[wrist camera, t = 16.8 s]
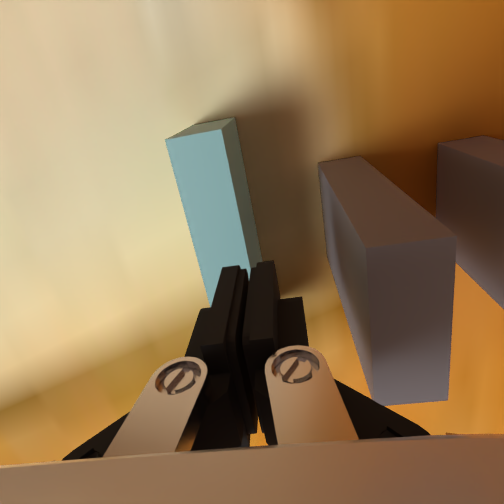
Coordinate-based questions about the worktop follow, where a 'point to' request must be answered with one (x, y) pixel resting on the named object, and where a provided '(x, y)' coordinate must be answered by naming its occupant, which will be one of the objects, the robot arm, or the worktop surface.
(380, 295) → the domino
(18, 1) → the worktop surface
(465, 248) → the domino
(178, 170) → the domino
